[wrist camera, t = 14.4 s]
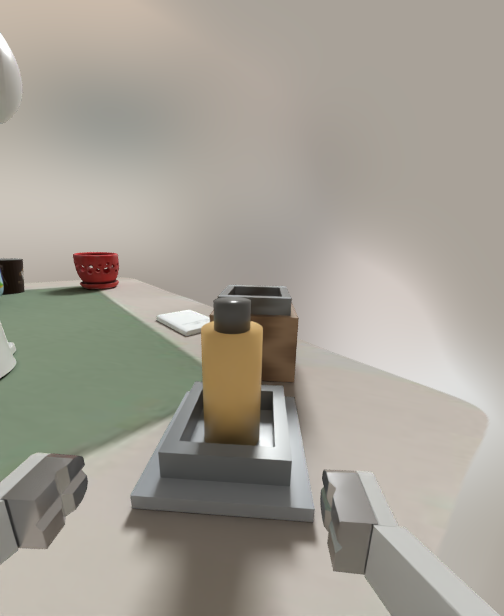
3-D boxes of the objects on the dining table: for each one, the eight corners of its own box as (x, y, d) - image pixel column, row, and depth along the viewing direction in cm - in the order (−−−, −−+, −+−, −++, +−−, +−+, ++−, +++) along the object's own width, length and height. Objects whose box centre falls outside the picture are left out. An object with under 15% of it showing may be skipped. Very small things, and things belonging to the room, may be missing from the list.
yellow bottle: (198, 454, 18) (191, 307, 15) (211, 414, 22) (208, 293, 20) (258, 458, 18) (263, 309, 15) (260, 417, 22) (264, 295, 19)
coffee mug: (4, 290, 80) (-3, 258, 78) (35, 289, 82) (29, 258, 79) (-27, 297, 69) (-37, 260, 67) (9, 296, 71) (1, 261, 68)
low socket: (132, 508, 15) (126, 468, 15) (187, 400, 26) (186, 374, 25) (313, 522, 15) (317, 481, 14) (293, 405, 25) (295, 379, 25)
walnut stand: (211, 378, 30) (209, 297, 28) (224, 345, 40) (224, 283, 37) (293, 382, 30) (299, 300, 27) (287, 348, 39) (291, 285, 37)
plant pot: (71, 287, 86) (65, 252, 83) (109, 283, 97) (105, 252, 94) (89, 292, 79) (83, 254, 76) (128, 287, 90) (125, 253, 87)
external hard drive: (191, 315, 58) (223, 329, 49) (156, 322, 53) (186, 339, 44) (190, 309, 58) (223, 321, 49) (156, 315, 52) (186, 330, 43)
